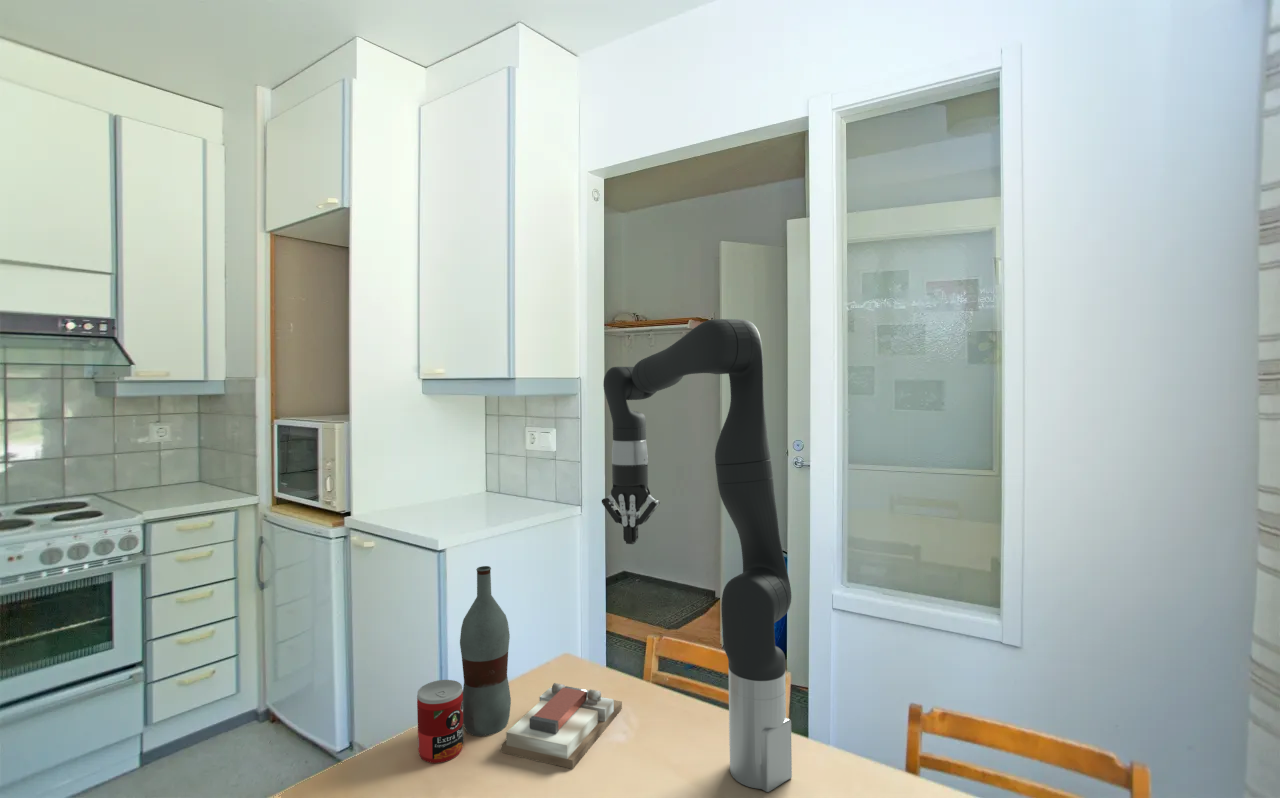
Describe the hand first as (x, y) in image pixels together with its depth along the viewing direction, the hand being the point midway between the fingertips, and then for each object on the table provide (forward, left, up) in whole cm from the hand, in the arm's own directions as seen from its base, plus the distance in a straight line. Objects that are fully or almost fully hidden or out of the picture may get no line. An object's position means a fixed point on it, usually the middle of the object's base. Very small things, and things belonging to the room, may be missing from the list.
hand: (631, 543), depth 132 cm
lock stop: (-2, +16, -26) cm, 30 cm away
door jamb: (-4, +19, -31) cm, 37 cm away
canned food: (+4, +40, -31) cm, 51 cm away
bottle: (+7, +30, -31) cm, 44 cm away
